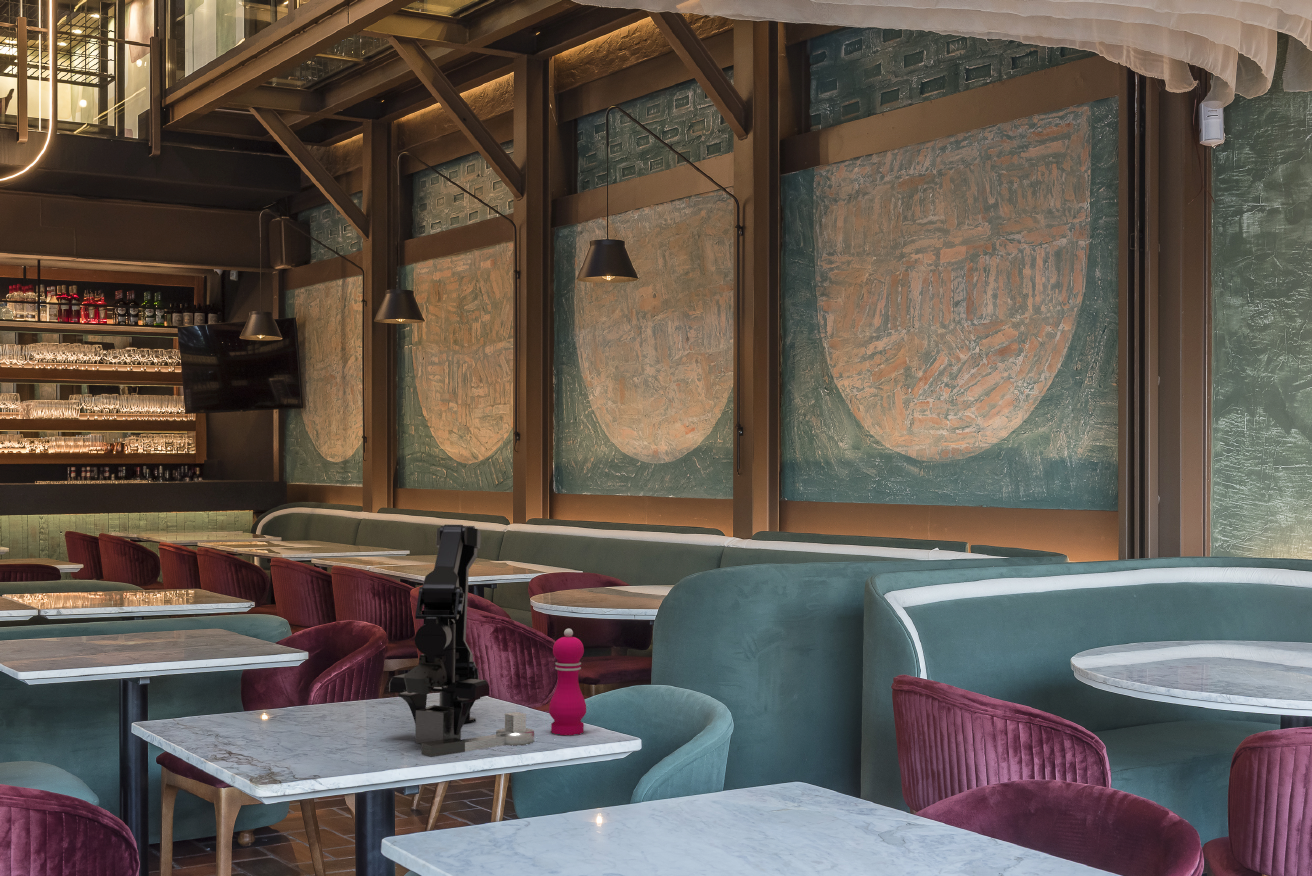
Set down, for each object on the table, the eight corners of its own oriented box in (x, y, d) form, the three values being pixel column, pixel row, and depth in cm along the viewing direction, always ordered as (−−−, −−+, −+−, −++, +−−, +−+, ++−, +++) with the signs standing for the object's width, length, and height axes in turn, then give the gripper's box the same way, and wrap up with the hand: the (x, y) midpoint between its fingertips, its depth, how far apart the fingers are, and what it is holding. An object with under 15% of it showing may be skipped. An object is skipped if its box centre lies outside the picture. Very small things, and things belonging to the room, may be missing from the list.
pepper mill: (588, 729, 249) (589, 626, 250) (583, 736, 242) (584, 630, 243) (552, 728, 250) (553, 626, 251) (545, 735, 243) (546, 630, 243)
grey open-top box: (415, 743, 234) (415, 710, 235) (433, 737, 240) (434, 705, 240) (442, 746, 232) (443, 712, 232) (460, 740, 238) (461, 707, 238)
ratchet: (415, 752, 227) (416, 723, 227) (519, 736, 241) (519, 709, 242) (436, 759, 221) (437, 728, 222) (541, 742, 236) (541, 714, 236)
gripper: (371, 650, 233) (370, 736, 232) (458, 656, 226) (457, 745, 225) (407, 643, 243) (405, 725, 243) (491, 649, 236) (490, 734, 235)
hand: (438, 732), depth 236 cm, fingers open, 8 cm apart
